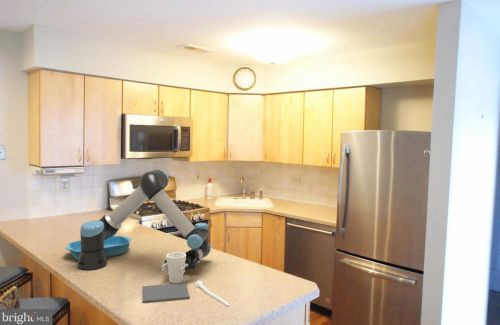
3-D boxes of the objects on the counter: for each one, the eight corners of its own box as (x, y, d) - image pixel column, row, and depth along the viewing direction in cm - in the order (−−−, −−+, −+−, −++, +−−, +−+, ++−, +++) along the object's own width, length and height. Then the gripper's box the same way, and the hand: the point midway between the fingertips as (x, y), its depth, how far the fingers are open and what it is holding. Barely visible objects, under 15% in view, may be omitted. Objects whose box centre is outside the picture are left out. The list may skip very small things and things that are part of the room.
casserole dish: (70, 265, 209) (70, 252, 209) (62, 254, 227) (61, 242, 227) (136, 253, 231) (136, 242, 230) (124, 244, 249) (124, 233, 248)
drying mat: (142, 303, 165) (142, 300, 165) (142, 288, 181) (142, 286, 181) (189, 298, 171) (189, 296, 171) (185, 284, 186) (185, 282, 186)
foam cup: (166, 285, 185) (167, 258, 184) (165, 278, 194) (165, 252, 193) (186, 283, 188) (187, 257, 187) (184, 276, 197) (185, 251, 196)
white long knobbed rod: (234, 305, 166) (234, 299, 166) (226, 308, 164) (226, 301, 164) (200, 284, 188) (200, 278, 188) (193, 286, 186) (193, 280, 185)
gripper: (211, 265, 204) (191, 280, 183) (175, 260, 211) (151, 274, 190) (211, 251, 203) (192, 265, 182) (175, 246, 211) (151, 259, 189)
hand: (171, 269), depth 186 cm, fingers closed on foam cup, 9 cm apart
